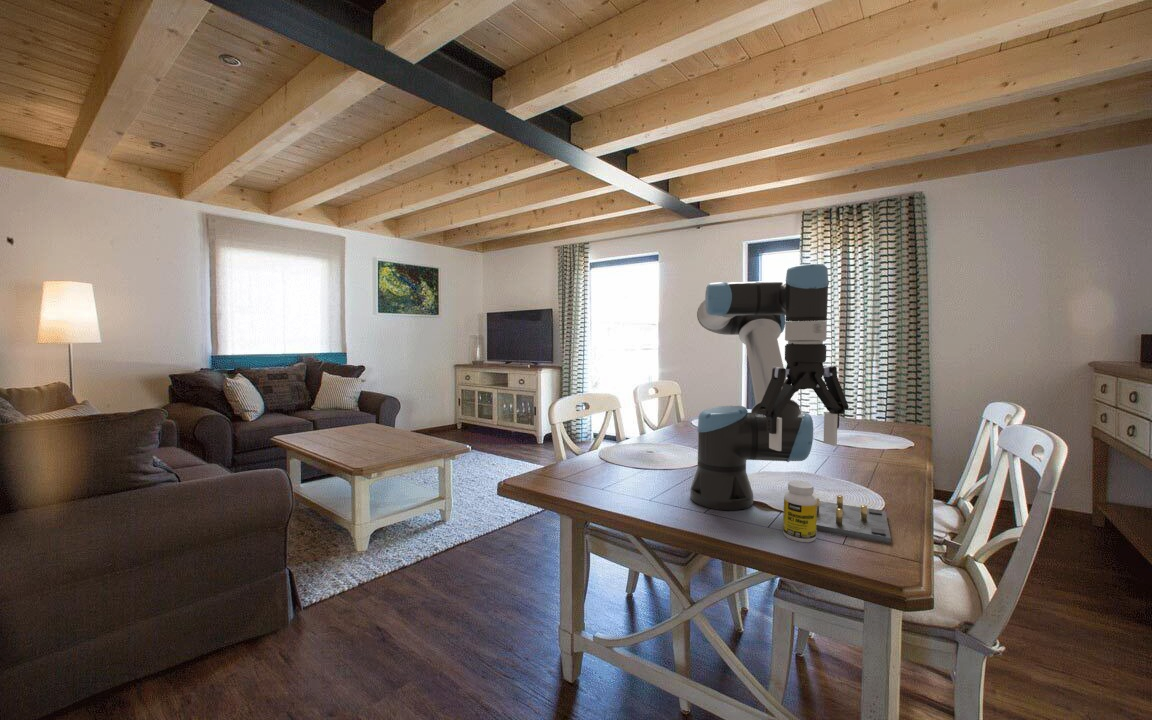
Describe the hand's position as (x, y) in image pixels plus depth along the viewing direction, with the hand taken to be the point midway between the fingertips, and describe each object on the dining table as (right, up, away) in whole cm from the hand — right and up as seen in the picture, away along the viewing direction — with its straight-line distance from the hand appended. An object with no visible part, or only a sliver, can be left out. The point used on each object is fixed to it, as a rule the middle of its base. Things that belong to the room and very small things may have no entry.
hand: (803, 447), depth 96 cm
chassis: (+12, -18, +9) cm, 23 cm away
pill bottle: (0, -19, +1) cm, 19 cm away
